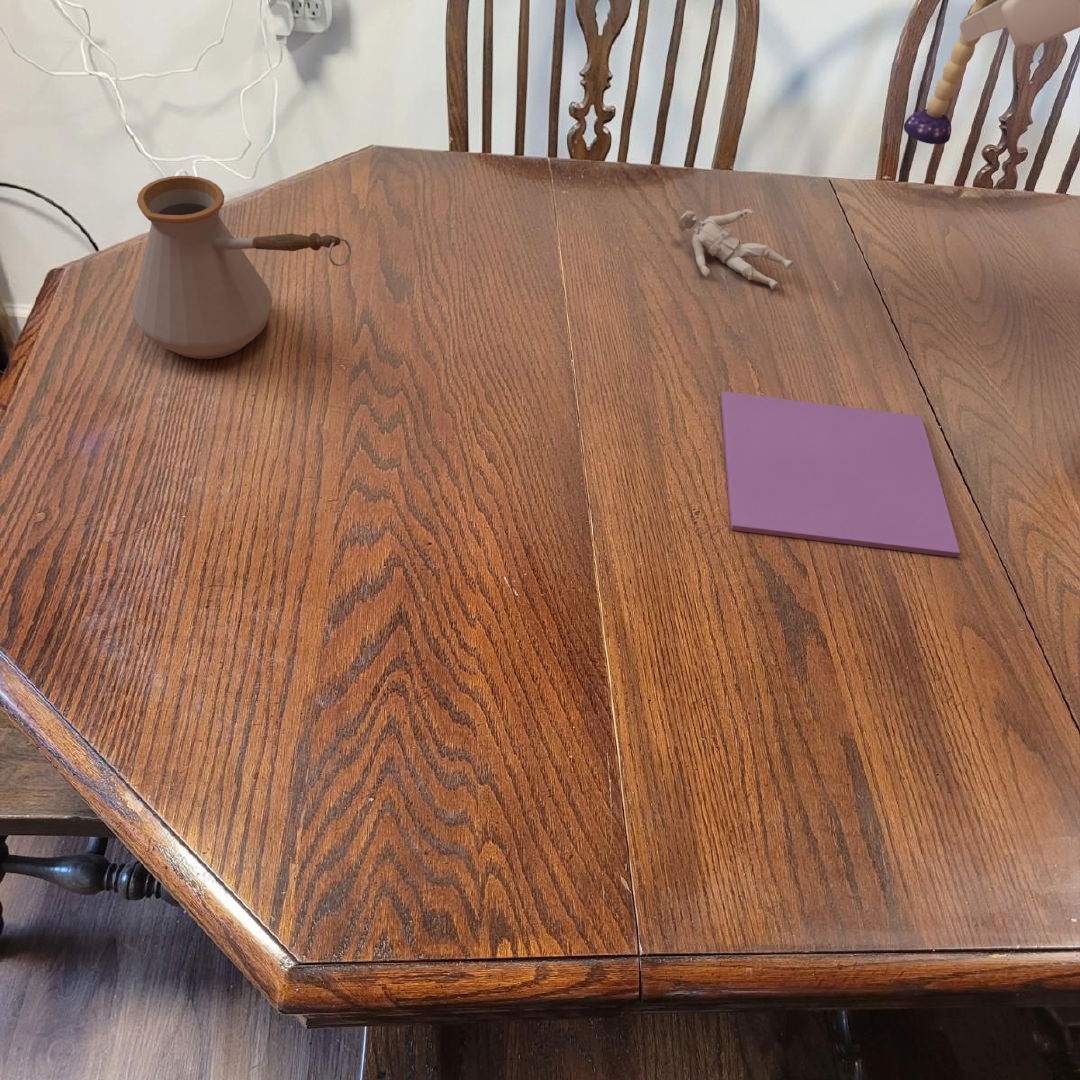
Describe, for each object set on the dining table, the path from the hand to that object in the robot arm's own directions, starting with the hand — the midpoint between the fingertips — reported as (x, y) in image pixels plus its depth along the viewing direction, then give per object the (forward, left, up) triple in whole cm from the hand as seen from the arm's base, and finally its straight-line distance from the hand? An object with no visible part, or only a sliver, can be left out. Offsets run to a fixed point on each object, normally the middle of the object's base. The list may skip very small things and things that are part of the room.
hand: (967, 25), depth 78 cm
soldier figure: (+14, 0, -25) cm, 29 cm away
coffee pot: (+57, +23, -25) cm, 66 cm away
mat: (+7, +29, -25) cm, 39 cm away
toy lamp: (0, 0, -9) cm, 9 cm away
